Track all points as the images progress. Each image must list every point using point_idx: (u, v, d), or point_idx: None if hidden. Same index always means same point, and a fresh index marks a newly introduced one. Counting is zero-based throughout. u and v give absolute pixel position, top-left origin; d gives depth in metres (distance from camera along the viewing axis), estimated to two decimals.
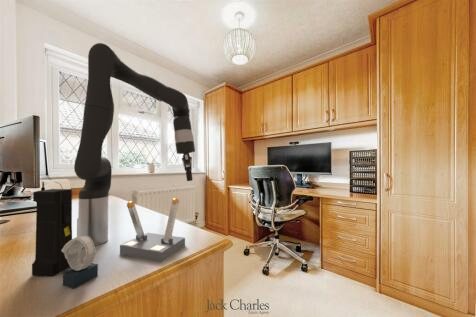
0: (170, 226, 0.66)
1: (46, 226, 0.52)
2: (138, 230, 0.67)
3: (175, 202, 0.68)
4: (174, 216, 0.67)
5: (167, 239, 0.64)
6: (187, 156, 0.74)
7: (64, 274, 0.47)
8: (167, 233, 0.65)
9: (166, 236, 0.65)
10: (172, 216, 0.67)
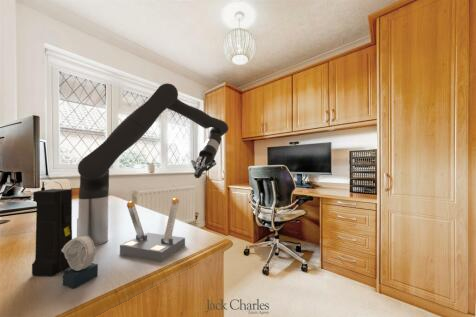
0: (170, 226, 0.66)
1: (46, 226, 0.52)
2: (138, 230, 0.67)
3: (175, 202, 0.68)
4: (174, 216, 0.67)
5: (167, 239, 0.64)
6: (214, 163, 0.87)
7: (64, 274, 0.47)
8: (167, 233, 0.65)
9: (166, 236, 0.65)
10: (172, 216, 0.67)
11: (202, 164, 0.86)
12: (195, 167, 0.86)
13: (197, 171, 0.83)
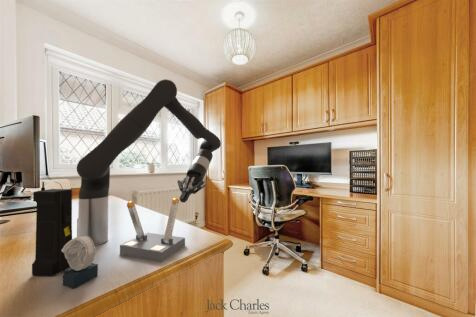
0: (170, 226, 0.66)
1: (46, 226, 0.52)
2: (138, 230, 0.67)
3: (175, 202, 0.68)
4: (174, 216, 0.67)
5: (167, 239, 0.64)
6: (203, 185, 0.77)
7: (64, 274, 0.47)
8: (167, 233, 0.65)
9: (166, 236, 0.65)
10: (172, 216, 0.67)
11: (189, 186, 0.76)
12: (181, 189, 0.77)
13: (183, 194, 0.74)
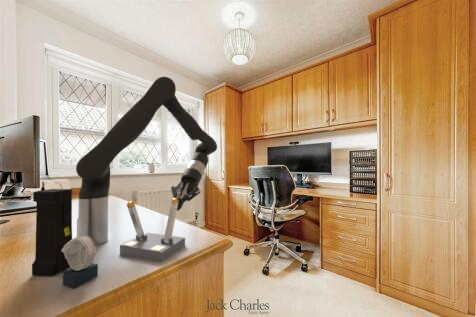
0: (170, 226, 0.66)
1: (46, 226, 0.52)
2: (138, 230, 0.67)
3: (175, 202, 0.68)
4: (174, 216, 0.67)
5: (167, 239, 0.64)
6: (198, 192, 0.73)
7: (64, 274, 0.47)
8: (167, 233, 0.65)
9: (166, 236, 0.65)
10: (172, 216, 0.67)
11: (183, 193, 0.72)
12: (175, 196, 0.73)
13: None
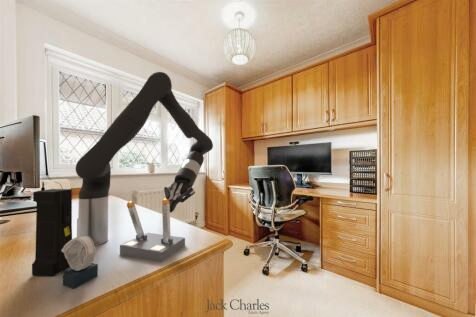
0: (166, 228, 0.64)
1: (46, 226, 0.52)
2: (138, 230, 0.67)
3: (165, 204, 0.64)
4: (168, 217, 0.64)
5: (166, 240, 0.64)
6: (192, 192, 0.70)
7: (64, 274, 0.47)
8: (165, 234, 0.64)
9: (164, 237, 0.64)
10: (166, 218, 0.64)
11: (176, 194, 0.68)
12: (168, 197, 0.69)
13: None
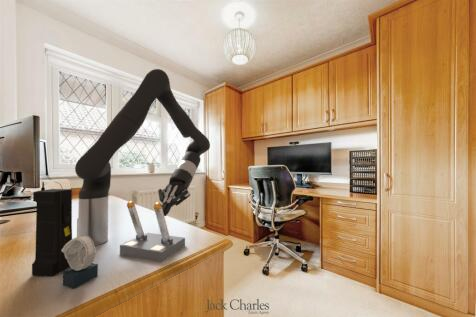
0: (164, 230, 0.63)
1: (46, 226, 0.52)
2: (138, 230, 0.67)
3: (158, 209, 0.60)
4: (163, 220, 0.62)
5: (166, 241, 0.64)
6: (187, 195, 0.67)
7: (64, 274, 0.47)
8: (164, 236, 0.63)
9: (164, 238, 0.64)
10: (161, 221, 0.62)
11: (171, 196, 0.66)
12: (162, 200, 0.66)
13: (163, 207, 0.63)
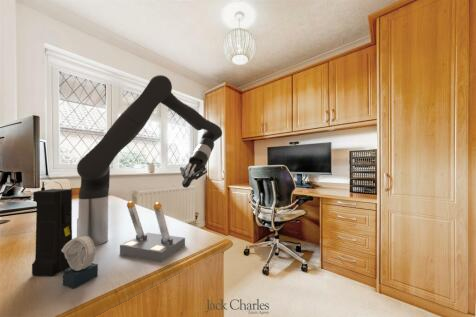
0: (163, 230, 0.63)
1: (46, 226, 0.52)
2: (138, 230, 0.67)
3: (157, 209, 0.60)
4: (163, 220, 0.62)
5: (166, 241, 0.64)
6: (205, 171, 0.79)
7: (64, 274, 0.47)
8: (164, 236, 0.63)
9: (164, 238, 0.64)
10: (161, 221, 0.62)
11: (191, 172, 0.78)
12: (184, 175, 0.78)
13: (185, 180, 0.76)
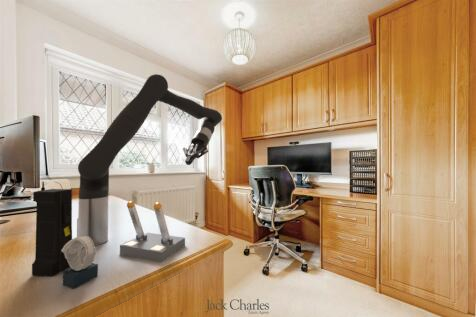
0: (163, 230, 0.63)
1: (46, 226, 0.52)
2: (138, 230, 0.67)
3: (157, 209, 0.60)
4: (163, 220, 0.62)
5: (166, 241, 0.64)
6: (206, 151, 0.85)
7: (64, 274, 0.47)
8: (164, 236, 0.63)
9: (164, 238, 0.64)
10: (161, 221, 0.62)
11: (194, 151, 0.84)
12: (186, 154, 0.85)
13: (188, 158, 0.82)
